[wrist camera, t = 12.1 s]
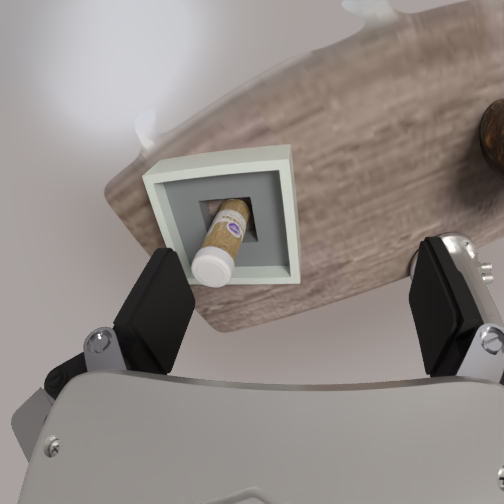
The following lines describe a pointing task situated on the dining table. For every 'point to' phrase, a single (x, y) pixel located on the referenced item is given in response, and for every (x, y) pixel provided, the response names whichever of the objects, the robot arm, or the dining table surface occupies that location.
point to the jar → (493, 137)
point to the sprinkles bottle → (221, 244)
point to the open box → (231, 186)
